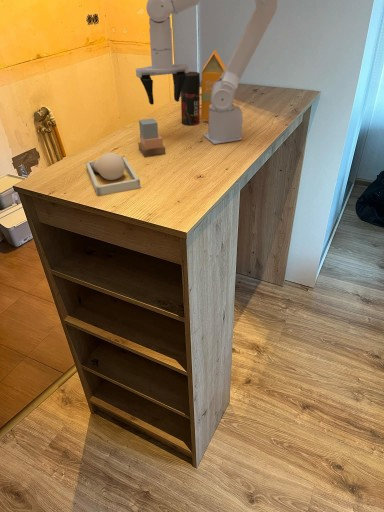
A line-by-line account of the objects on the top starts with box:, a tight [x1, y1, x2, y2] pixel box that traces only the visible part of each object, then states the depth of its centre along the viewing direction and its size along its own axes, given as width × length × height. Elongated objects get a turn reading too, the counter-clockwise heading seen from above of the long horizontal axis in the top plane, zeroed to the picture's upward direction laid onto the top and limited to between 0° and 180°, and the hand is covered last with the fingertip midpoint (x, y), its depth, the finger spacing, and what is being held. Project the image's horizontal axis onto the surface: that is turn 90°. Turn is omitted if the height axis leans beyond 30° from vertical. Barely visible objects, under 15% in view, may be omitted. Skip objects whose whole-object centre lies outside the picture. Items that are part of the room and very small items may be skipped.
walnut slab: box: [137, 142, 166, 158], centre depth 104 cm, size 6×6×2 cm
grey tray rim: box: [85, 155, 142, 197], centre depth 91 cm, size 10×15×2 cm
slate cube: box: [138, 118, 159, 140], centre depth 101 cm, size 4×4×4 cm
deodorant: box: [180, 71, 201, 127], centre depth 119 cm, size 6×6×15 cm
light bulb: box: [90, 151, 126, 181], centre depth 91 cm, size 7×7×11 cm
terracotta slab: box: [139, 133, 164, 150], centre depth 103 cm, size 5×5×2 cm
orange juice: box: [200, 49, 227, 121], centre depth 124 cm, size 8×9×20 cm
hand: (164, 102), depth 107 cm, fingers open, 7 cm apart
